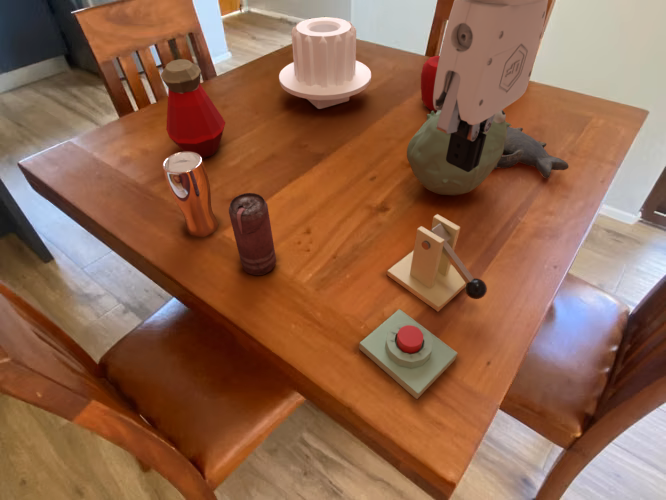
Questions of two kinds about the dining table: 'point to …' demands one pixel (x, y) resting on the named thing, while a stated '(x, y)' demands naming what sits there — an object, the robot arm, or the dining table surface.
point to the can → (253, 233)
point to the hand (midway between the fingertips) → (461, 163)
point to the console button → (409, 339)
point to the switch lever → (461, 267)
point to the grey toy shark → (528, 153)
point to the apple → (429, 81)
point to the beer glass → (191, 191)
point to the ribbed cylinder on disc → (324, 63)
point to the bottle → (191, 110)
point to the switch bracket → (430, 267)
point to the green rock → (432, 150)
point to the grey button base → (407, 354)
